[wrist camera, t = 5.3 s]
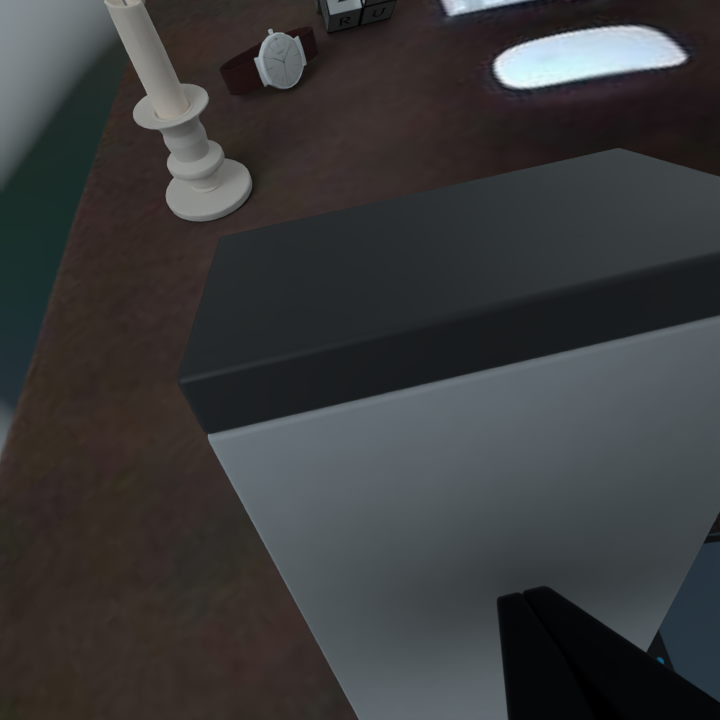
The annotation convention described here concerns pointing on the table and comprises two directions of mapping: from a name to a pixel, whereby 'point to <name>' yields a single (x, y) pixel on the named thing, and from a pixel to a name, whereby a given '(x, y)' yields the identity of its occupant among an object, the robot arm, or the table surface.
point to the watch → (271, 62)
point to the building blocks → (353, 12)
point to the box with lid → (471, 413)
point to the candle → (179, 124)
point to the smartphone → (695, 623)
